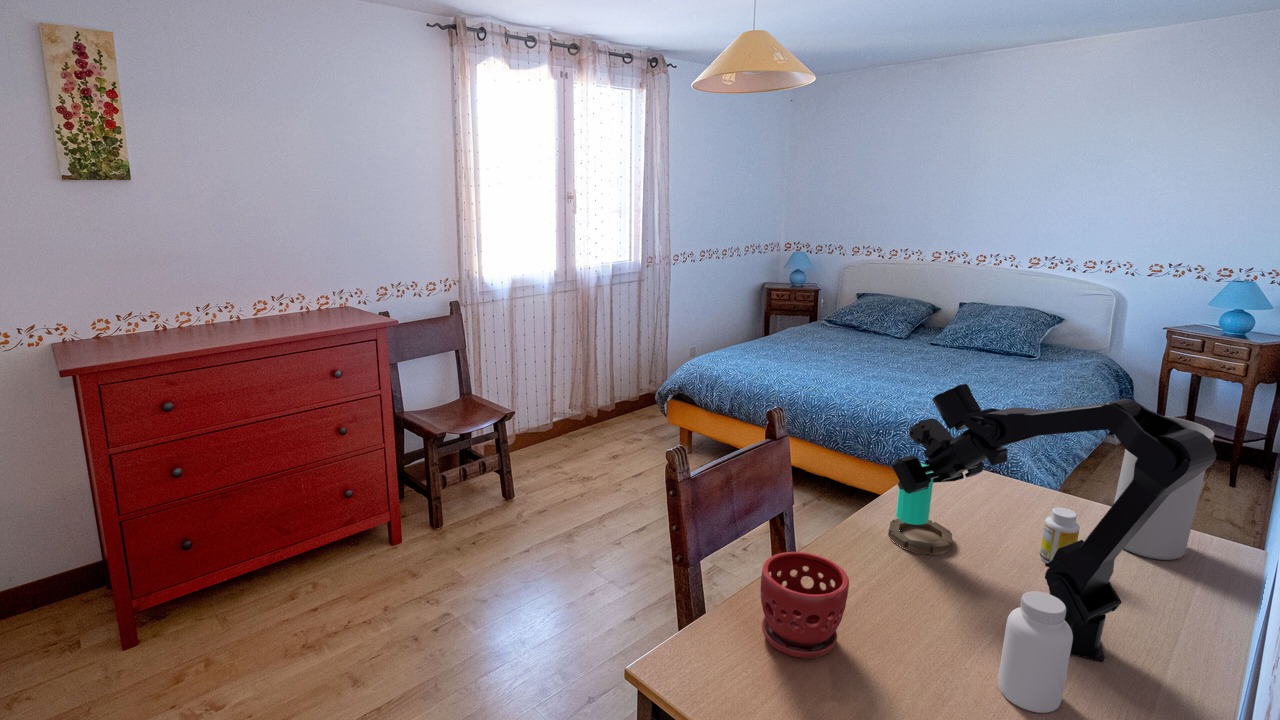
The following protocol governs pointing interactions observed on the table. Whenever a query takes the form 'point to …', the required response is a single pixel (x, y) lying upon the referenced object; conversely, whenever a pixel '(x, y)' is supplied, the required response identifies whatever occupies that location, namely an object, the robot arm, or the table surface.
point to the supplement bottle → (1058, 532)
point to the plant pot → (802, 604)
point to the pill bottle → (1036, 653)
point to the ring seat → (921, 537)
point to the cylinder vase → (1165, 511)
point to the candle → (914, 505)
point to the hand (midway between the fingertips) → (910, 483)
